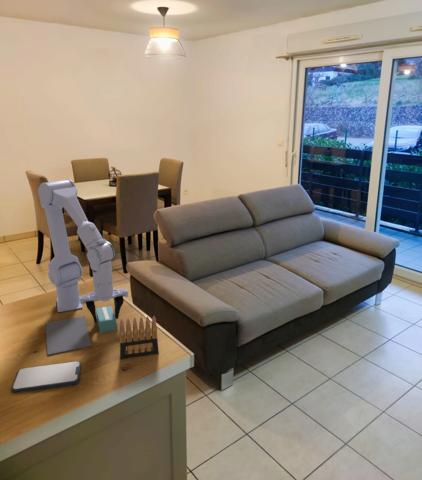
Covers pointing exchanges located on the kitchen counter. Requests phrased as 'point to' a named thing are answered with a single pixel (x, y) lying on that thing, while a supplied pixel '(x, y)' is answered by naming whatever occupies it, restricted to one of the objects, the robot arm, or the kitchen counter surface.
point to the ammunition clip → (138, 339)
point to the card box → (106, 319)
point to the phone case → (47, 377)
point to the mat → (67, 335)
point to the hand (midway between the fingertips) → (106, 319)
